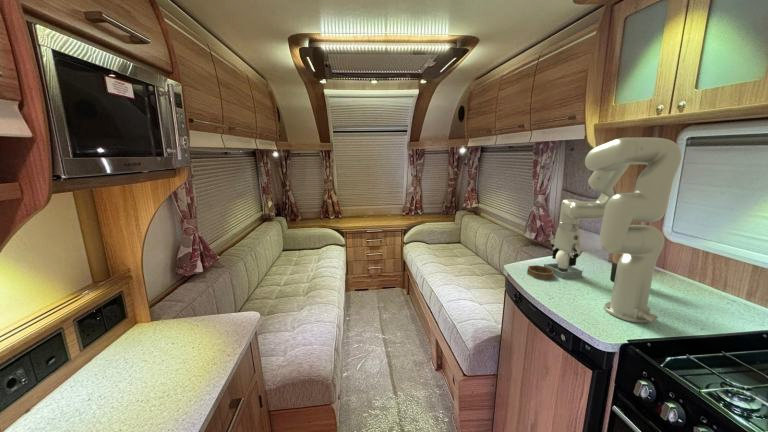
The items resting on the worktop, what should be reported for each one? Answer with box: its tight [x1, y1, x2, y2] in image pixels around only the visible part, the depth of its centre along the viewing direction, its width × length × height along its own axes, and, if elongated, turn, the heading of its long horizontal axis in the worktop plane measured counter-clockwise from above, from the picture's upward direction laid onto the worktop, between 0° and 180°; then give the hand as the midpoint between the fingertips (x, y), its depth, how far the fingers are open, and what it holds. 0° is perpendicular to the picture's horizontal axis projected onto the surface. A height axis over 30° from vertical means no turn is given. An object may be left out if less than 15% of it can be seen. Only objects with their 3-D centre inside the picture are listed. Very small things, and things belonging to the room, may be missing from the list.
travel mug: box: [609, 254, 622, 283], centre depth 127 cm, size 8×8×20 cm
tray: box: [543, 262, 583, 279], centre depth 139 cm, size 11×11×3 cm
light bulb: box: [555, 249, 571, 272], centre depth 138 cm, size 7×7×11 cm
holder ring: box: [526, 264, 554, 280], centre depth 136 cm, size 10×10×2 cm
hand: (563, 261), depth 138 cm, fingers open, 9 cm apart
